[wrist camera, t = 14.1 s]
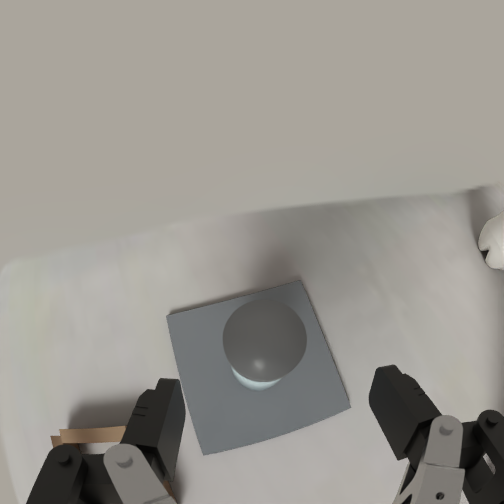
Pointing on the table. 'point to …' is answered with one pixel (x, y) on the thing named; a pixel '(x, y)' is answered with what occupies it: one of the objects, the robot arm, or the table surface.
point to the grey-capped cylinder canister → (263, 343)
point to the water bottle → (493, 241)
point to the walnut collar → (95, 440)
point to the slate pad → (243, 399)
